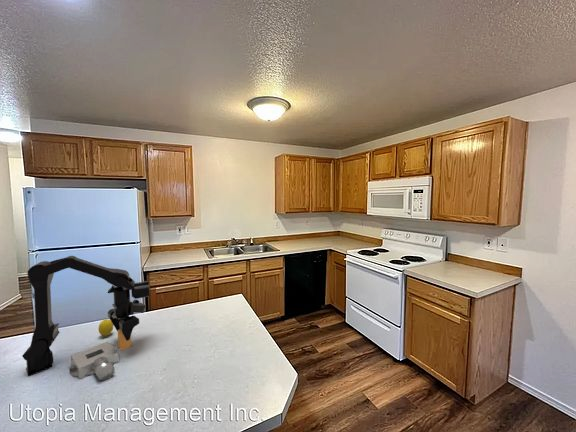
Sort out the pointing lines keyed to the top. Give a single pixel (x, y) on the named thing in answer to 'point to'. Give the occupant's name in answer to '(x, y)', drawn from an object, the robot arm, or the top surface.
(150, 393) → the top surface
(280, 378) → the top surface
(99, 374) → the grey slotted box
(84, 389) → the top surface
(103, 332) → the lemon
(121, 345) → the orange block
